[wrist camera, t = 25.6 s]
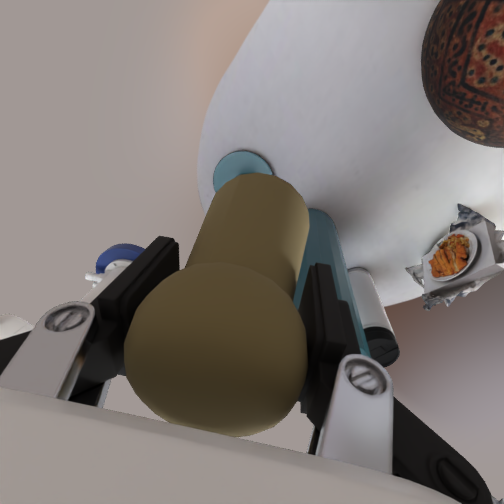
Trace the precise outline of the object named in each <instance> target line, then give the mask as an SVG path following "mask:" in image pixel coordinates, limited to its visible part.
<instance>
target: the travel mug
mask: <svg viewBox="0 0 504 504" xmlns="http://www.w3.org/2000/svg"><path fill="white" fill-rule="evenodd" d="M348 275H349V278H350V282H351V286H352V289H353V293H354V297H355V300H356V304H357V308H358V311H359V315H360V319H361V322H362V326H363V330H364V333H365V337H366V341H367V344H368V348H369V352H370V356H371V359H373V360H375V361H376V362H378V363H379V364H380V365H381V366H383V368H384V367H387V366H389V365H391V364H393V363H394V362H395V361H396V360H397V359H398V357H399V354H400V351H399V348H398V344H397V341H396V338H395V335H394V332H393V330H392V328H391V325H390V322H389V320H388V317H387V315H386V312H385V310H384V307H383V305H382V302H381V300H380V297H379V295H378V292H377V290H376V287H375V285H374V282H373V280H372V277H371V275H370V273H369V272H368V271H366V270H365V269H362V268H353V269H350V270H348Z"/></svg>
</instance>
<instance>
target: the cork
mask: <svg viewBox="0 0 504 504" xmlns="http://www.w3.org/2000/svg"><path fill="white" fill-rule="evenodd" d="M309 227H310V226H309V212H308V209H307V207H306V205H305V202H304V200H303V198H302V196H301V195H300V194H299V193H298V192H297V191H296V190H295V188H294V187H293V186H292V185H291V184H289V183H287V182H286V181H284V180H282V179H280V178H278V177H277V176H274V175H269V174H263V173H250V174H243V175H240V176H238V177H236V178H234V179H232V180H230V181H228V182H226V183H225V184H224V185H223V186H222V187H221V188H220V189H219V190H218V191H217V192H216V194H215V196H214V198H213V200H212V203H211V205H210V207H209V210H208V212H207V214H206V217H205V219H204V222H203V224H202V227H201V229H200V232H199V234H198V237H197V239H196V242H195V244H194V247H193V249H192V251H191V254H190V256H189V259H188V261H187V264H186V266H185V268H184V269H182V270H179V271H177V272H175V273H173V274H172V275H170V276H169V277H167V278H166V279H164V280H163V281H162V282H161V283H160V284H158V285H157V286H156V287H155V288H154V289H153V290H152V291H151V292H150V293H149V294H148V295H147V296H146V297H145V299H144V300H143V301H142V302H141V304H140V305H139V306H138V307H137V309H136V312H135V314H134V317H133V320H132V322H131V325H130V328H129V330H128V333H127V336H126V339H125V342H124V364H125V371H126V377H127V379H128V381H129V383H130V385H131V386H132V388H133V390H134V392H135V393H136V395H137V396H138V397H139V398H140V399H141V400H142V402H144V403H145V404H146V405H147V406H148V407H149V408H150V409H151V410H152V411H153V412H154V413H155V414H157V415H158V416H160V417H161V418H163V419H164V420H166V421H168V422H169V423H172V424H177V425H181V426H186V427H190V428H195V429H199V430H204V431H208V432H213V433H218V434H222V435H227V436H231V437H242V436H249V435H253V434H257V433H259V432H262V431H264V430H267V429H269V428H272V427H274V426H275V425H277V424H278V423H279V422H280V421H281V420H282V419H284V418H285V417H286V416H287V415H288V413H289V412H290V411H291V409H292V408H293V406H294V405H295V403H296V402H297V400H298V398H299V395H300V393H301V391H302V388H303V386H304V383H305V379H306V375H307V371H308V352H307V340H306V329H305V327H304V324H303V322H302V319H301V317H300V314H299V312H298V311H297V309H296V307H295V305H294V303H293V299H294V294H295V290H296V285H297V281H298V277H299V272H300V268H301V263H302V259H303V254H304V250H305V245H306V241H307V236H308V232H309Z"/></svg>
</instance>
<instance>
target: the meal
mask: <svg viewBox="0 0 504 504" xmlns="http://www.w3.org/2000/svg"><path fill="white" fill-rule="evenodd" d="M458 210H459V211H460V213H458V219H457V221H456V222H454V223H452V224H451V226H450V232H449V234H447V235H445V236H444V237H443V238H442V239H440V240H439V241H438V242H437V243H436V244H435V245H434V247H433V248H432V250H431V251H430V252H429V253H428V254H426V255H424V256H423V258H422V265H417V266H413V267H411V268H405V269H406V271H407V272H408V273H409V274H410V275H411V276H412V277H413V279H414V281H415V282H417V283H418V284H419V285H421V286H422V287H423V288H424V292H425V294H422V298H423V300H424V302H425V303H426V304H425V306H423V308H424V309H425V310H427V311H429V310H430V309H431V307H432V306H433V305H436V304H438V303H442V302H443V301H445V303H446V305H447V306H449V305H450V304H451V302H452V301H453V300H454V299H455V296H462V297H465V296H466V295H467V294H468V293H469V292H472V291H476V290H477V289H478V288H479V287H480V286H481V285H482V284H483V283H484V282H486V281H488V280H489V279H491V278H493V277H495V276H497V275H498V274H500V273H502V271H503V270H504V240H501V239H502V237H503V234H504V231H496V230H495V228H496V226H495V224H494V223H492V222H491V221H489V220H488V219H486V218H485V217H483V216H482V215H480V214H479V213H477V212H475V211H473V210H471V209H470V208H467V207H465V206H463V205H461V204H458ZM445 239H446V240H445ZM441 242H442V244H441V245H440V246H439V247H438V246H437V245H438V244H439V243H441ZM421 279H424V285H423V284H422V280H421ZM433 295H434V296H433ZM426 308H427V309H426Z"/></svg>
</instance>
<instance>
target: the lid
mask: <svg viewBox="0 0 504 504" xmlns="http://www.w3.org/2000/svg"><path fill="white" fill-rule="evenodd" d="M250 173H263V174H269V175H273V173H272V171H271V168H270V167H269V165H268V164H267V163H266V161H265V160H264V159H263V158H261V157H260V156H258V155H257V154H255V153H252V152H248V151H237V152H233V153H230V154H228V155H227V156H225V157H224V158H223V159H222V160H221V161H220V162H219V163H218V165H217V167H216V169H215V171H214V176H213V184H214V189H215V192H217V191H218V190H219V189H220V188H221V187H222V186H223V185H224V184H225V183H226V182H228V181H230V180H232V179H234V178H236V177H238V176H240V175H243V174H250Z"/></svg>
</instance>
